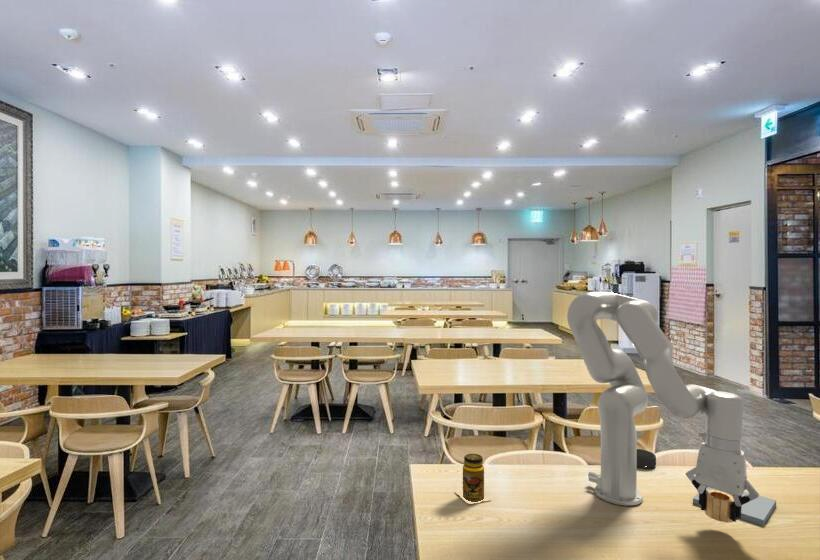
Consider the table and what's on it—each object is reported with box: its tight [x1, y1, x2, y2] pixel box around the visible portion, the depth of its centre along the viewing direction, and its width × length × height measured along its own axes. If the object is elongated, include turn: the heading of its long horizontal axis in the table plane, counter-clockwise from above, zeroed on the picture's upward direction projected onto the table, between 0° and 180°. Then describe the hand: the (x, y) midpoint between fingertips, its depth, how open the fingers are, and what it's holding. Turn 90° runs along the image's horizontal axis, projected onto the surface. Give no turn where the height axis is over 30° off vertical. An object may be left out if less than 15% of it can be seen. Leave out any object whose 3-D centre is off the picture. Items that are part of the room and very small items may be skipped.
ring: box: [703, 490, 734, 523], centre depth 115 cm, size 6×6×5 cm
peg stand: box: [692, 487, 777, 527], centre depth 128 cm, size 16×16×8 cm
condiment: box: [462, 453, 485, 502], centre depth 132 cm, size 7×8×12 cm
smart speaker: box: [637, 448, 657, 469], centre depth 157 cm, size 9×9×4 cm
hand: (719, 513), depth 115 cm, fingers closed on ring, 6 cm apart
